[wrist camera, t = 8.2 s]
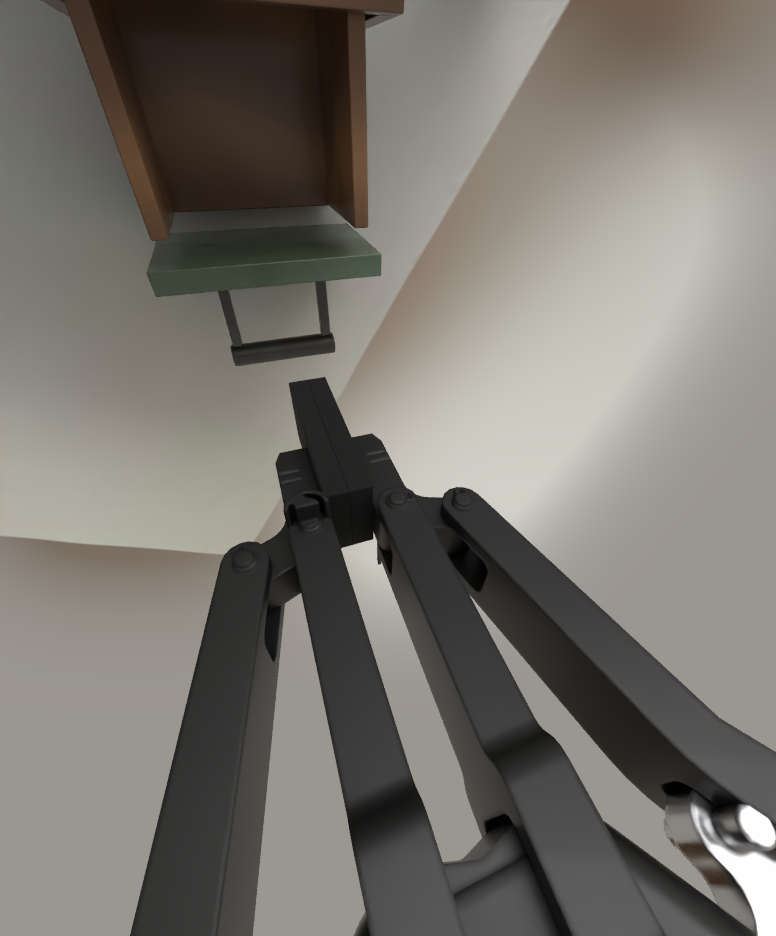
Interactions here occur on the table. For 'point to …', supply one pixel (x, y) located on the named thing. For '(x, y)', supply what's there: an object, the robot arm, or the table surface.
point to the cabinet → (314, 7)
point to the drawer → (238, 142)
